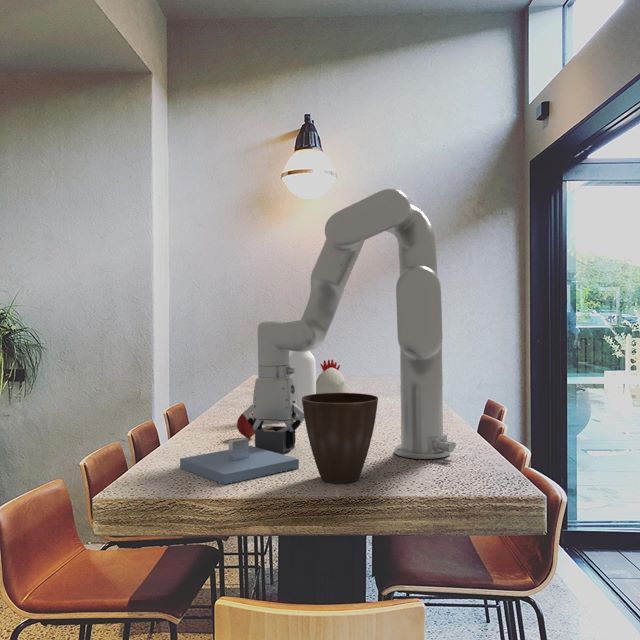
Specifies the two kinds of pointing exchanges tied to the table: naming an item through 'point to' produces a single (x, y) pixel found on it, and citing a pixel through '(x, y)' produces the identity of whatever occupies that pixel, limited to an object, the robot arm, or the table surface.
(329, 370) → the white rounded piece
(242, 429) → the onion
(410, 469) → the table surface
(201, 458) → the base board
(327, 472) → the plant pot
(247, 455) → the block
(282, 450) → the hollow gray block
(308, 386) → the alcohol
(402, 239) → the robot arm
